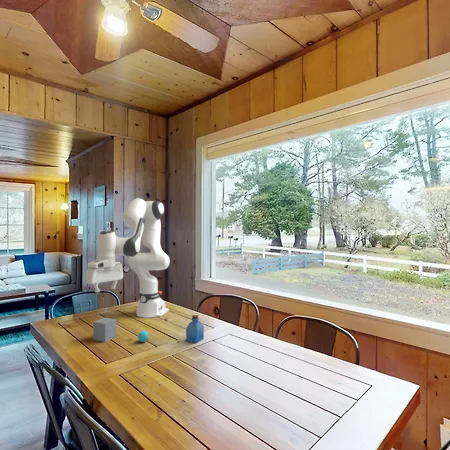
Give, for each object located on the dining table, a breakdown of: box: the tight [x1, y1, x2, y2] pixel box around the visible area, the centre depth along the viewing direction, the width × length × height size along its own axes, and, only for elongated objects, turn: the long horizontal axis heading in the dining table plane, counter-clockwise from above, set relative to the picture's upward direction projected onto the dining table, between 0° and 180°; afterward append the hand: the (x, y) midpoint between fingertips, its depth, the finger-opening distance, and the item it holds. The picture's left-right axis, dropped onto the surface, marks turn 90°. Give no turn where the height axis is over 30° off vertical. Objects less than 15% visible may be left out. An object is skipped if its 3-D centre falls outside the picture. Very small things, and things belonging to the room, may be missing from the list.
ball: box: [137, 330, 149, 343], centre depth 148 cm, size 5×5×5 cm
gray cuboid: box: [92, 317, 117, 343], centre depth 151 cm, size 8×8×9 cm
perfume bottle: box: [185, 314, 205, 344], centre depth 151 cm, size 6×6×12 cm
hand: (105, 290), depth 152 cm, fingers open, 8 cm apart
